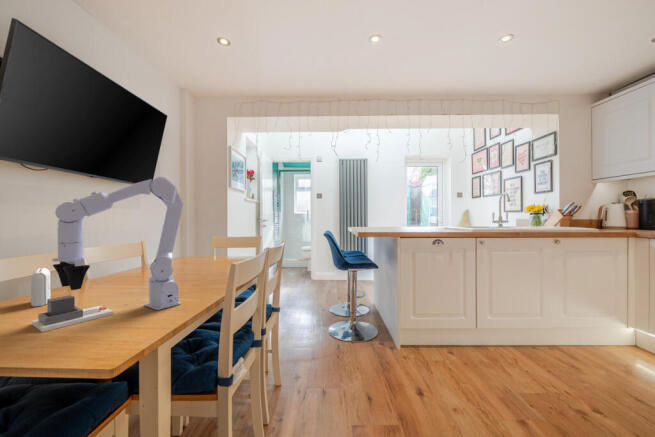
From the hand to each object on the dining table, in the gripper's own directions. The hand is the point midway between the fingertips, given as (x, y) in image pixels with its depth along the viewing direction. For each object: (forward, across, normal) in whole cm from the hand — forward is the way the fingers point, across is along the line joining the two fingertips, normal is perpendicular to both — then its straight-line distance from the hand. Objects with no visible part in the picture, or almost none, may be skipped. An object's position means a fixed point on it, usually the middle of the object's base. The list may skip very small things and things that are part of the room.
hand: (71, 287), depth 83 cm
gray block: (+8, +1, -3) cm, 9 cm away
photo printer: (+10, -29, 0) cm, 30 cm away
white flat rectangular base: (+9, +1, 0) cm, 9 cm away
